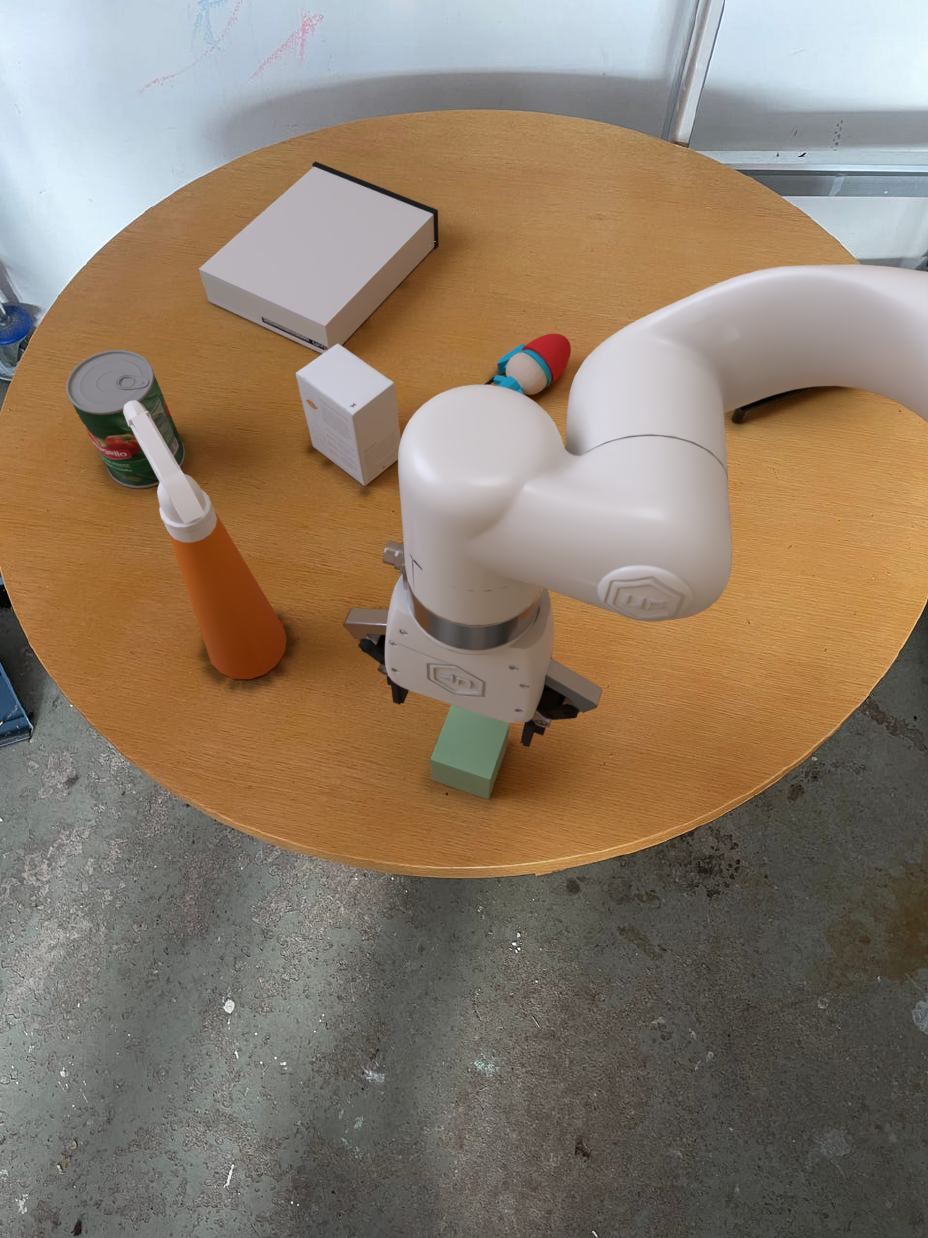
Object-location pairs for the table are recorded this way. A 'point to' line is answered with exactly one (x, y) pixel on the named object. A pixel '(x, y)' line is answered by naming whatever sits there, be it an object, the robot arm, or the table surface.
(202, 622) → the spray bottle
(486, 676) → the robot arm
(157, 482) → the canned tomato
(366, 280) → the disc drive
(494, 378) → the toy figure
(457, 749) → the cube
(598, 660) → the table surface
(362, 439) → the small box
